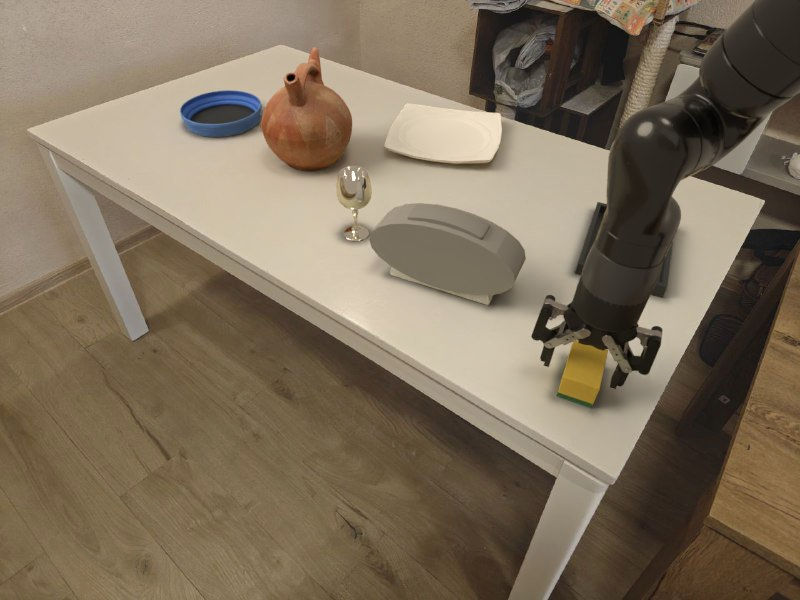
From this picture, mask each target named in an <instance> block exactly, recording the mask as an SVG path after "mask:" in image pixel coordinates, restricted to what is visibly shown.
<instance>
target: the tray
mask: <svg viewBox="0 0 800 600" xmlns="http://www.w3.org/2000/svg"><path fill="white" fill-rule="evenodd" d="M606 209H607V203H604V202H599V201H597V203H596V206H595V208H594V211H593V215H592V218H591V221H590V224H589V227H588V230H587V233H586V237H585V240H584V243H583V246H582V249H581V252H580V255H579V258H578V261H577V265H576V268H575V271H574V274H575V275H578V276H581V273H582V270H583V267H584V262H585V260H586V258H587V256H588V253H589V251H590V249H591V247H592V245H593V244H594V242H595V239H596V237H597V234H598V231H599V228H600V225H601V222H602V219H603V216H604V213H605V211H606ZM673 245H674V241H673V242H672V244H671V246H670V248H669V250H668V252H667V255H666V257H665V259H664V261H663V264H662V268H661V272H660V275H659V278H658V280H657V282H656V284H655V287H654V289H653V291H652V293H651V295H652V296H655V297H659V298H663V297H664V295H665V293H666V291H667V289H668V285H669V284H668V282H669V276H670V269H671V268H670V267H671V260H672V252H673ZM651 295H650V296H651Z"/></svg>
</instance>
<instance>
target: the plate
mask: <svg viewBox="0 0 800 600" xmlns="http://www.w3.org/2000/svg"><path fill="white" fill-rule="evenodd" d="M388 130H389V131H388V133H387V135H386V139H385V143H384V147H383V148H384V149H385V150H387V151H388V152H391V153H394V154H398V155H402V156H405V157H409V158H412V159H416V160H421V161H422V160H423V161H429V162H435V163H444V164H454V165H459V164H460V165H463V164H466V165H467V164H487V163H490V162H492V160H493V159H494V157H495V155H496V154H497V153H498V150H499V147H500V144H501V142H502V134H503V133H502V132H503V129H502V114H501V113H499V112H487V111H477V110H476V111H475V110H473V111H472V110H464V109H456V108H455V109H454V108H446V107H436V106H429V105H424V104H416V103H411V102H407V103H405V105H404V106H403V107H402V109H401V111H400V112H399V113H398V114H397V116H396V117H395V119H394V121H393V122H392V124H391V126H390V128H389V129H388Z"/></svg>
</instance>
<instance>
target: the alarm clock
mask: <svg viewBox="0 0 800 600" xmlns="http://www.w3.org/2000/svg"><path fill="white" fill-rule="evenodd" d="M368 240H369V244H370V247H371V249H372V250H373V251H374V252H375V255H377V257H378V258H380V259H381V260H382V261H383V262H385V263H386V264H387V265H388V266H389V267H390V270H389V275H391V276H393V277H396V278H399V279H403V280H406V281H409V282H413V283H415V284H419V285H423V286H426V287H429V288H431V289H435V290H438V291H441V292H445V293H448V294H450V295H454V296H458V297H461V298H464V299H467V300H470V301H473V302H477V303H480V304H484V305H487V306H489V305H490V304H491V301H492V299H493V297H494V295H501V294H503V293H505V292H507V291H509V290H511V289H512V288H513V286H514V284H515V283H516V281H517V279H518V276H519V274H520V272H521V270H522V268H523V266H524V264H525V262H526V251H525V250H526V249H525V248H524V247H523V245H522V244H521V242H520V241H519V240H518V239H517V238H516V237H515V236H514V235H513V234H511V232H509V231H508V230H506V229H505V228H503V227H502V226H499V225H498V224H496V223H495V222H493V221H491V220H489V219H486V218H484V217H482V216H480V215H478V214H475V213H472V212H469V211H465V210H462V209H459V208H456V207H451V206H446V205H441V204H434V203H424V202H418V203H405V204H402V205H399V206H396V207H395V206H394V207H393V208H391V210H390V211H388V212H387V213H386V214H385V215H384V216H383V218H382V219H381V220H380V222H379V223H378V224H377V225H376V226H375V228H374V229H373V230H372V231H371V232H370V234H369V238H368Z"/></svg>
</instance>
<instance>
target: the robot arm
mask: <svg viewBox="0 0 800 600" xmlns="http://www.w3.org/2000/svg"><path fill="white" fill-rule="evenodd" d="M798 94H800V0H754V1H753V2H752V3H751V4H750V5H749V6H748V7H747V8H746V9H745V10H744V11H743V12H742V13H741V14H740V15H739V16H738V17H737V18H736V19H735V20H734V21H733V22H732V23H731V24H730V25H729V26H728V28H726V29H725V30H724V31H723V33H722V34H720V35H719V36H718V38H717V39H716V40H715V41H714V42H713V43H712V45H711V46H710V47H709V48H708V50H707V51H706V53H705V54H704V55H703V57H702V59H701V62H700V65H699V70H698V77H697V78H696V79H695V80H694V81H693V82H692V83H691V84H690V85H689V86H688V87H687V88H686V89H685V90H683V91H682V92H681V93H680V94H678V95H676V96H675V97H674V98H670V99H669V100H668V99H667V100H666V101H663V102H660V103H657V104H654V105H651V106H647V107H645V108H643V109H641V110H638V111H636V112H635V113H633V114H632V115H630V116H629V117H628V118H627V119H626V120H625V121H624V122H623V124H622V125H621V126H620V128H619V130H618V131H617V132H616V134H615V136H614V138H613V141H612V143H611V145H610V149H609V154H608V160H607V174H606V175H607V178H606V179H607V180H606V204H607V209H606V211H605V213H604V216H603V219H602V222H601V225H600V228H599V231H598V234H597V237H596V239H595V242H594V244H593V245H592V247H591V249H590V251H589V253H588V256H587V258H586V260H585V262H584V267H583V270H582V273H581V275H579V276H580V277H579V280H578V283H577V286H576V289H575V291H574V295H573V298H572V301H570V302H569V303H568V304H563V303H561V302H558V301H556V297H555V295H553V294H547V295H545V298H544V300H543V303H542V306H541V309H540V311H539V313H538V317H537V319H536V322H535V324H534V327H533V330H532V333H531V335H530V336H531V339H533V340H534V341H536V342H537V341H538V342H539V341H540V342H542V344H543V347H542V351H541V354H540V357H539V359H540V361H541V362H543V367H547V368H549V367H550V364H551V361H552V358H553V355H554V352H555V350H556V347H558V346H561V345H563V346H566V345H569V344H572V343H573V341H576V340H577V341H579V342H578V343H580V344H583V345H590V346H593V347H595V348H597V349H599V350H603V351H604V350H605V349H606V350H608V353H609V354H610V356H611V357H612V359H613V361H614V362H616V363H617V364H616V366H615V368H614V371H613V373H612V374H611V380H610V383H609V388H611V389H613V390H616V389H617V388H618V387H619V388H621V387H623V386H624V385H625V383H626V382H627V379H628V377H629V375H630V373H632V372H638V373H639V375H643V376H646V375H649V374H650V371H651V369H652V367H653V365H654V362H655V360H656V358H657V355H658V354H659V351H660V348H661V346H662V339H663V332H664V331H663V328H662V327H661V326H659V325H654V326H652V327H651V328H646V327H642V326H639V320H640V318H641V316H642V314H643V313H644V310H645V308H646V306H647V303H648V302H649V300H650V297H651V293H652V291H653V289H654V287H655V284H656V282H657V280H658V278H659V275H660V272H661V268H662V264H663V261H664V259H665V257H666V255H667V252H668V250H669V248H670V246H671V244H672V242H673V243H674V239H675V237H676V235H677V233H678V230H679V227H680V225H681V224H680V223H681V220H682V210H681V207H680V205H679V202H678V201H677V200H676V199H675V197H673V194H674V192H675V191H676V189H677V187H678V185H679V184H680V182H682V181H683V180H685V179H687V178H690V177H692V176H694V175H696V174H698V173H700V172H702V171H704V170H707V169H708V168H710V167H712V166H713V165H715V164H717V163H718V162H720V161H721V160H722V159H723V158H725V157H726V156H728V155H729V154H730V153H731V152H733V150H735V149H736V148H737V147H738V146H739V145H741V144H742V143H743V142H744V141H745V140H746V139H747V138H748V137H750V135H751V134H752V133H753V132H754V131H755V130H756V129H758V127H760V125H761V124H762V123H763V122H764V121H765V120H767V118H768V117H769V116H770V115H771V113H773V112H774V111H775V110H778V109H779V108H780V107H781V106H783V105H785V104H787V102H789V101H790V100H792V99H793V98H794V97H796V96H797V95H798ZM558 316H563V317H562V318H563V321H561V323H559V324H558V325H556V326H554V327H552V328H549V327H547V324H548V322H549V321H553V320H555V319H556V318H557V317H558ZM636 338H637V339H639V342H640V343H639V344H640V346H642V352H641V354H640V355H635V354H634V352H633V350H632V349H631V347H630V342H631V341H634V340H635V339H636Z"/></svg>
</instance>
